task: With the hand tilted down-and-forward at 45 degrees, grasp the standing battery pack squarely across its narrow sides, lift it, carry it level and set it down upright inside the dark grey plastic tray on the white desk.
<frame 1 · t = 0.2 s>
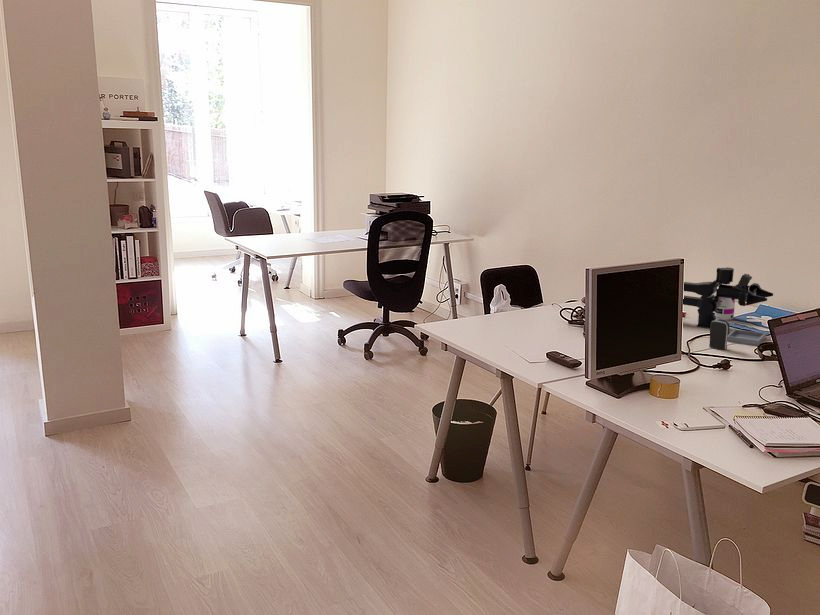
hand: (770, 297, 293), 17 cm above the table, tool horizontal, fingers open, 9 cm apart
supplement can: (723, 318, 324), on the table
battery: (718, 348, 282), on the table
tray: (745, 339, 291), on the table
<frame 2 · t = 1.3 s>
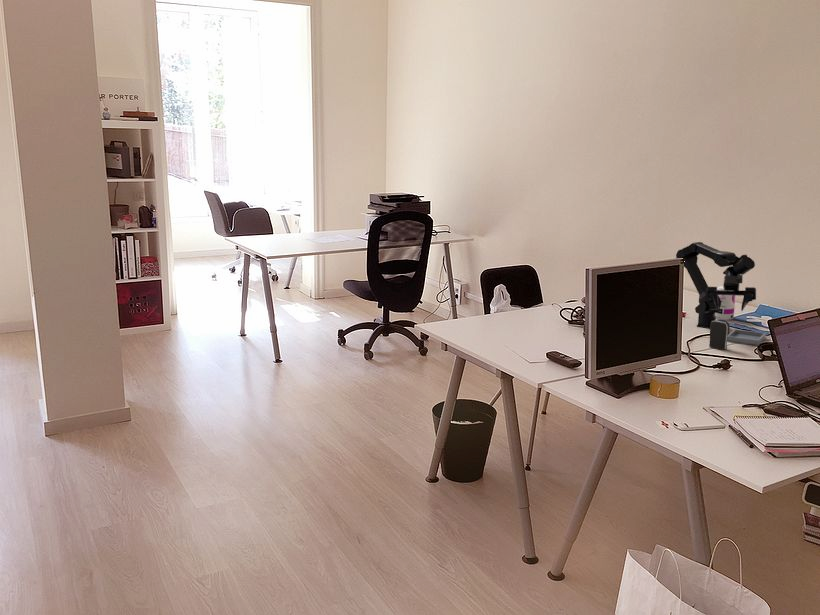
hand: (729, 309, 285), 14 cm above the table, tool tilted 45°, fingers open, 9 cm apart
nothing on the table moved.
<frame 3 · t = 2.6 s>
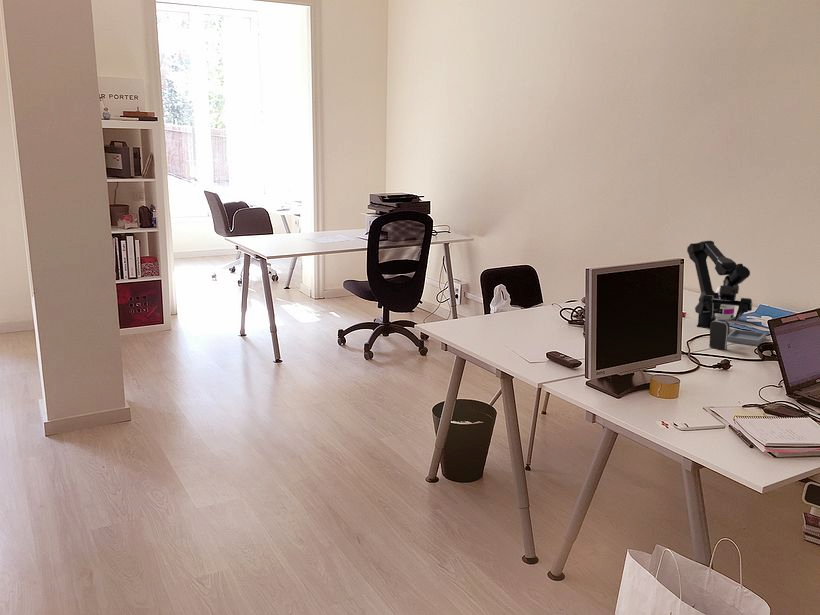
hand: (723, 320, 283), 11 cm above the table, tool tilted 45°, fingers open, 9 cm apart
nothing on the table moved.
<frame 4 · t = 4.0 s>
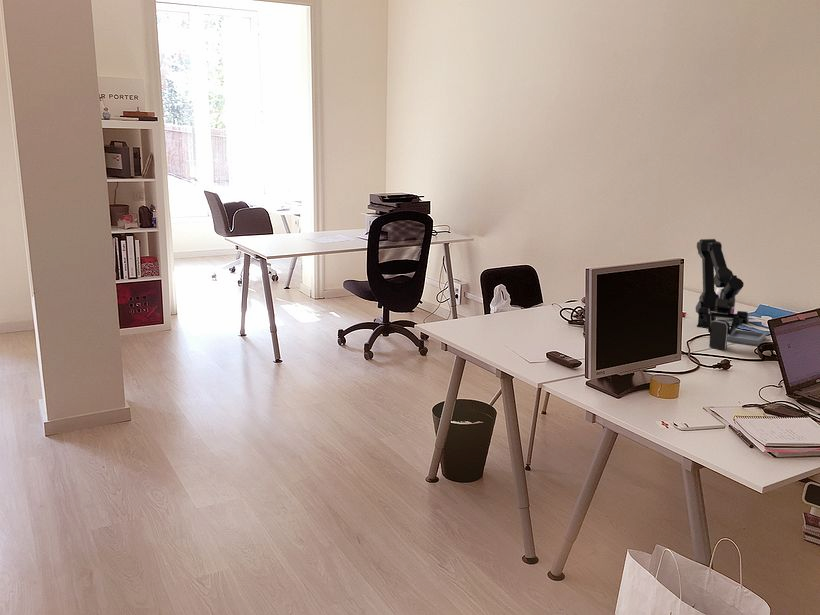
hand: (719, 333, 279), 7 cm above the table, tool tilted 45°, fingers closed on battery, 7 cm apart
battery: (718, 348, 282), on the table, touching gripper
everything else where it was.
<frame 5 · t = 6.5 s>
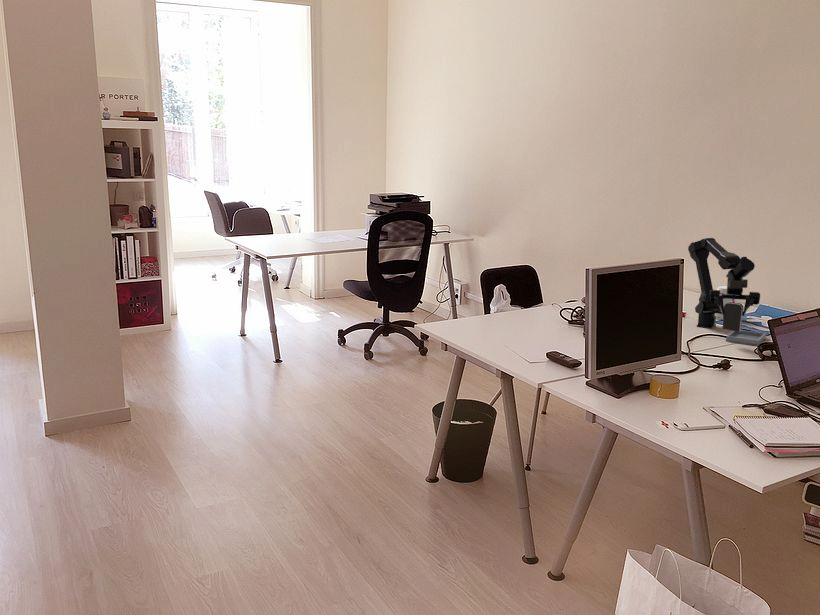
hand: (733, 314, 280), 13 cm above the table, tool tilted 45°, fingers closed on battery, 7 cm apart
battery: (732, 330, 283), point 7 cm above the table, touching gripper
everything else where it was.
when the fingers open (8 cm above the table, at t = 8.9 s): battery stays where it is, resting on tray.
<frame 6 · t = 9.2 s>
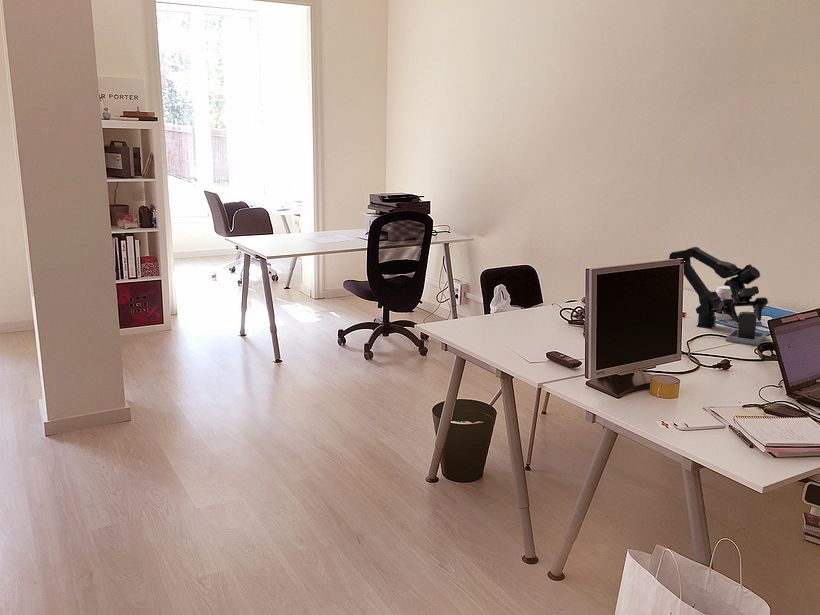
hand: (748, 321, 287), 8 cm above the table, tool tilted 45°, fingers open, 9 cm apart
battery: (745, 338, 291), resting on tray
everything else where it was.
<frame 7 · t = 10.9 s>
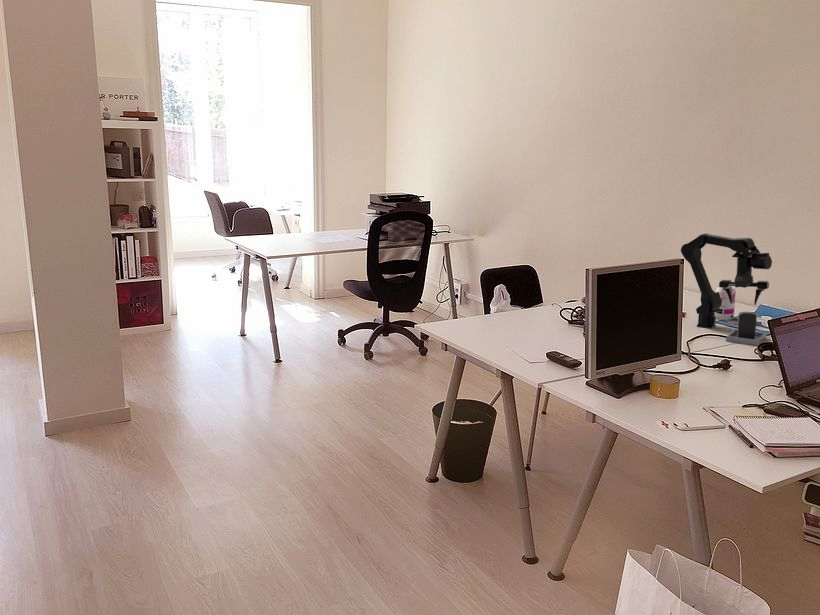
hand: (743, 304, 296), 13 cm above the table, tool pointing down, fingers open, 9 cm apart
nothing on the table moved.
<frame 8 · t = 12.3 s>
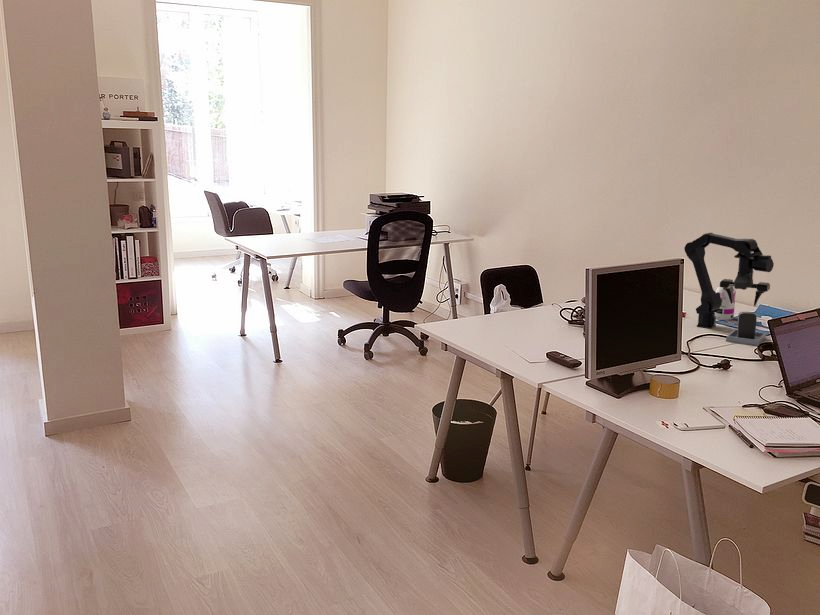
hand: (743, 304, 296), 13 cm above the table, tool pointing down, fingers open, 9 cm apart
nothing on the table moved.
at the end: battery inside the target area on the tray (0.2 cm from its centre), point 0.4 cm above the tray's base; battery tilted 0°; the gripper is holding nothing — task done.
